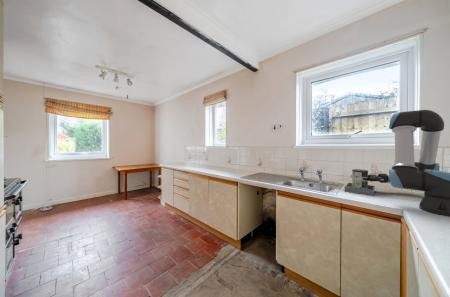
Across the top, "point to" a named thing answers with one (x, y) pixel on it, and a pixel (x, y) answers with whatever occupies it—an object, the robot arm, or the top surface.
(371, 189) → the tray
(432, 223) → the top surface
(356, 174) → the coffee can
